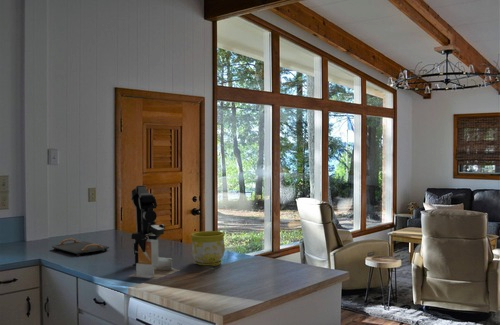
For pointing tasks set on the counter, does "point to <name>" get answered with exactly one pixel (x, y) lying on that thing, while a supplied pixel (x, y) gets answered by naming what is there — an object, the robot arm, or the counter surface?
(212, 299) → the counter surface
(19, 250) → the counter surface
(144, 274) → the bookends
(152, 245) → the small box
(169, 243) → the counter surface
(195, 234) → the flowerpot
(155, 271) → the shelf board
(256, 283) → the counter surface
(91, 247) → the serving board
